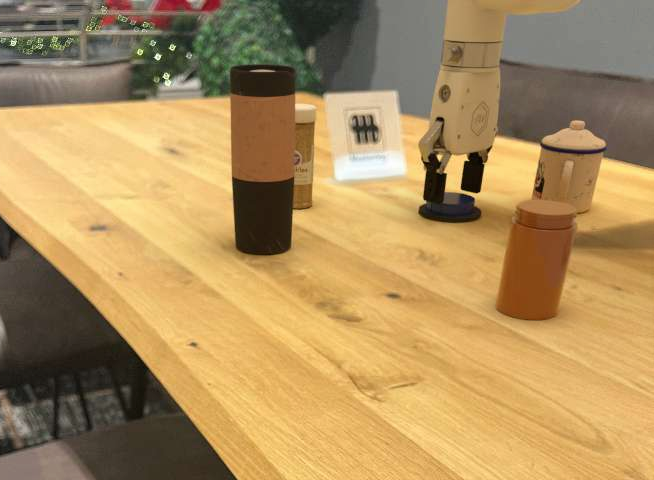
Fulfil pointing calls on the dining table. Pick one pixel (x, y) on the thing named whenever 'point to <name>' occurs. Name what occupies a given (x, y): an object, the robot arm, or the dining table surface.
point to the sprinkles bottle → (304, 154)
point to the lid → (453, 205)
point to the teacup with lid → (569, 167)
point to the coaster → (445, 218)
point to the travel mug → (263, 156)
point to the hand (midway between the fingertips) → (452, 196)
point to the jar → (536, 259)
